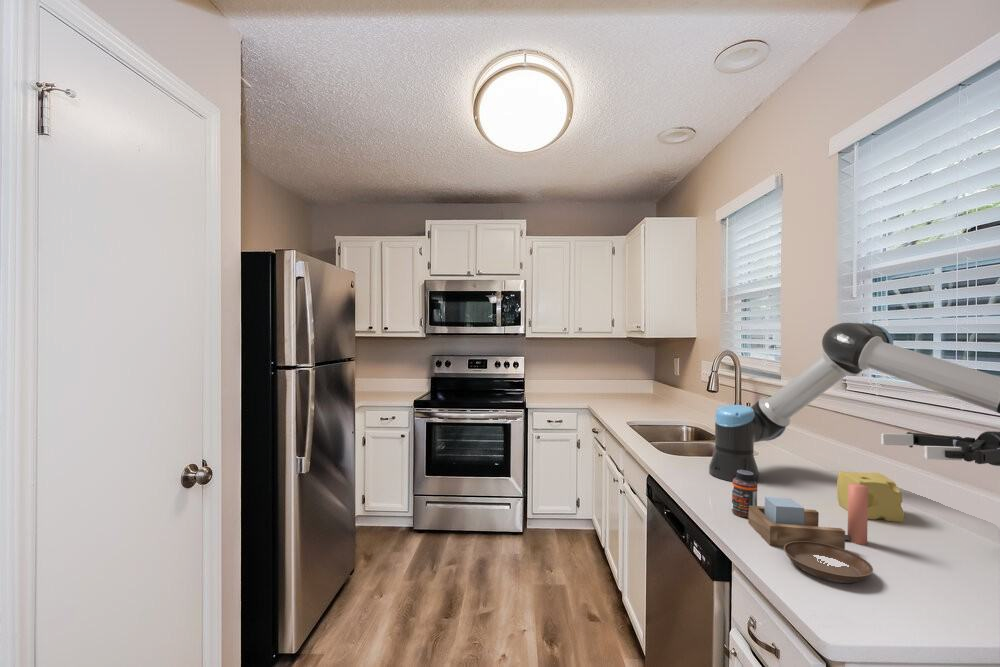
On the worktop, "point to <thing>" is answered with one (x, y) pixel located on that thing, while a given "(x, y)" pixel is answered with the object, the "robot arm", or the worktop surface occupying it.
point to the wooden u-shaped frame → (795, 529)
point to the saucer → (807, 562)
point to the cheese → (873, 494)
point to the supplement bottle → (743, 493)
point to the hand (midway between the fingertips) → (902, 445)
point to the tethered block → (794, 513)
